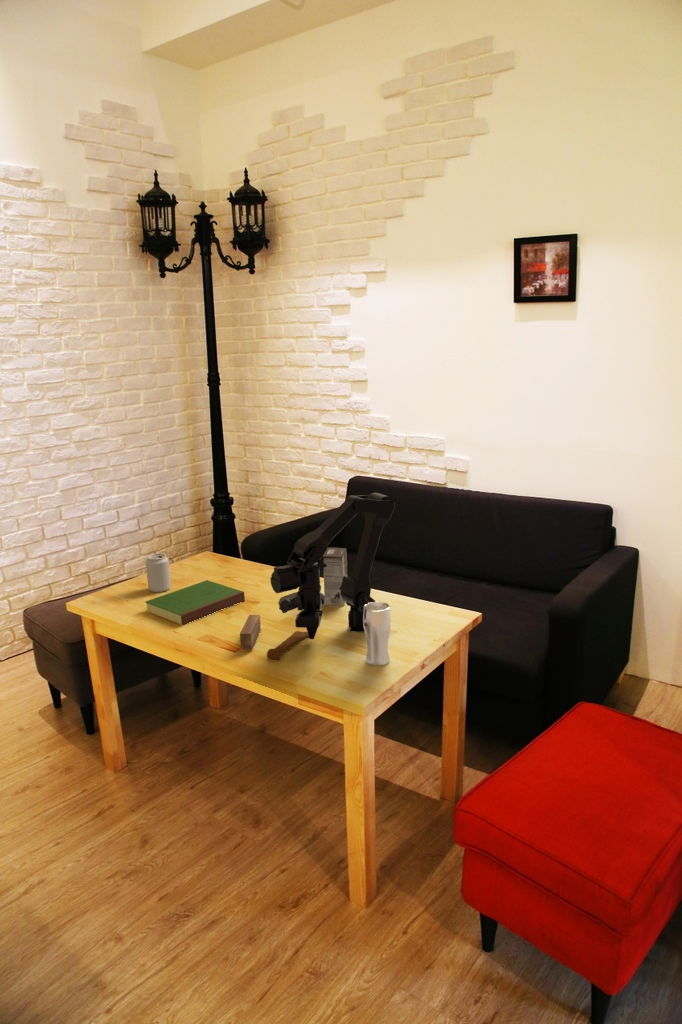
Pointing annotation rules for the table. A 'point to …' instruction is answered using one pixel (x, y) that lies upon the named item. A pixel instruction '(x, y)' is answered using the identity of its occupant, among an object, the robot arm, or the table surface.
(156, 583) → the can
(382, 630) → the beer glass
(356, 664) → the table surface
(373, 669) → the table surface
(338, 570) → the coffee box
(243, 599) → the hardcover book
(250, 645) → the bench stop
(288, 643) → the primitive tool
